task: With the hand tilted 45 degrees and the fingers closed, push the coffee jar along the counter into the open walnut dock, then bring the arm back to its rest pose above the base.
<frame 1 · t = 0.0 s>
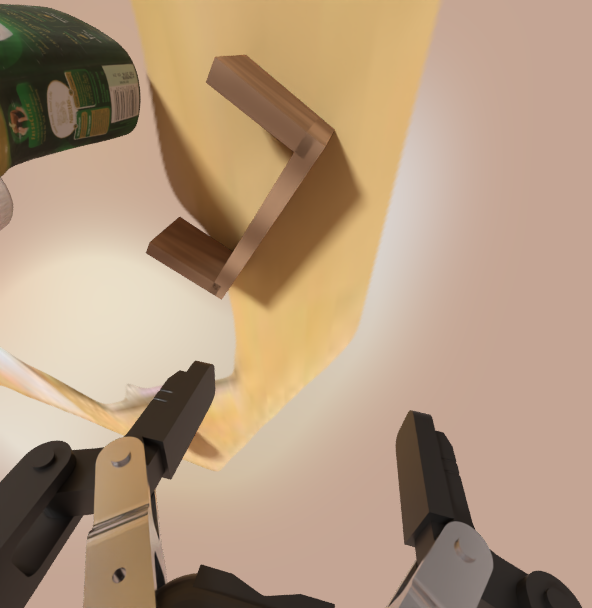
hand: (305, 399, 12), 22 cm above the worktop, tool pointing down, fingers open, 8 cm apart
coffee jar: (96, 78, 27), on the worktop
dock: (221, 170, 30), on the worktop
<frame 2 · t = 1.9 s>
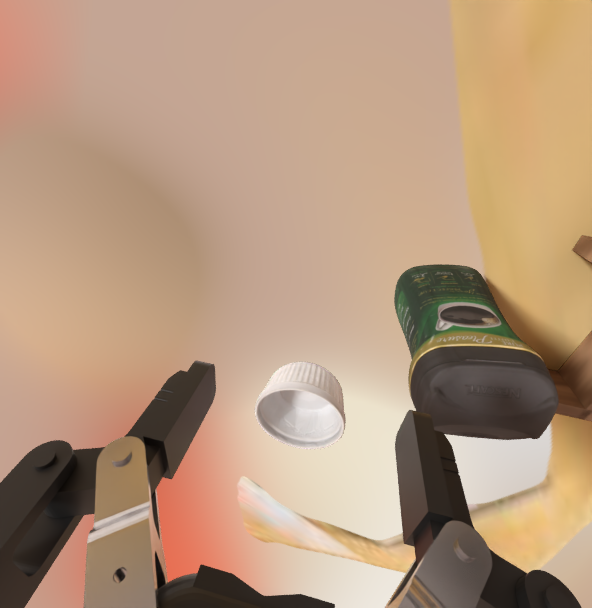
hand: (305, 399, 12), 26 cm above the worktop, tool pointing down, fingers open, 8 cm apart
coffee jar: (435, 291, 37), on the worktop
dock: (549, 314, 35), on the worktop
ramekin: (306, 384, 50), on the worktop
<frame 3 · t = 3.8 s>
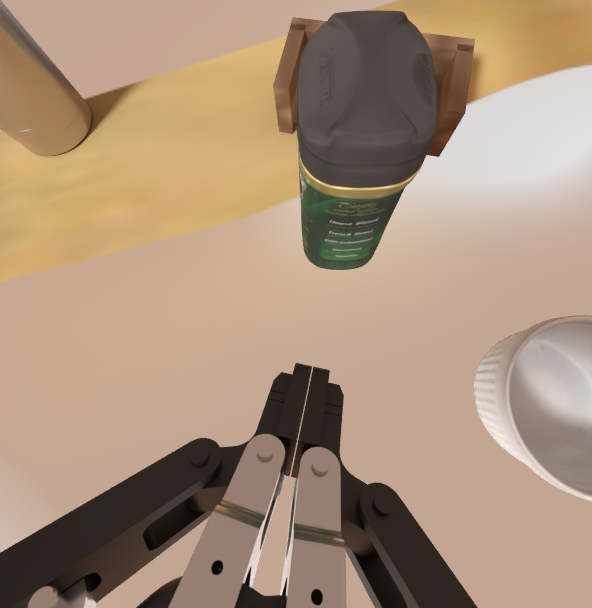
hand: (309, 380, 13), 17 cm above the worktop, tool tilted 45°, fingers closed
coffee jar: (338, 231, 33), on the worktop
dock: (360, 129, 36), on the worktop
ramekin: (530, 396, 29), on the worktop
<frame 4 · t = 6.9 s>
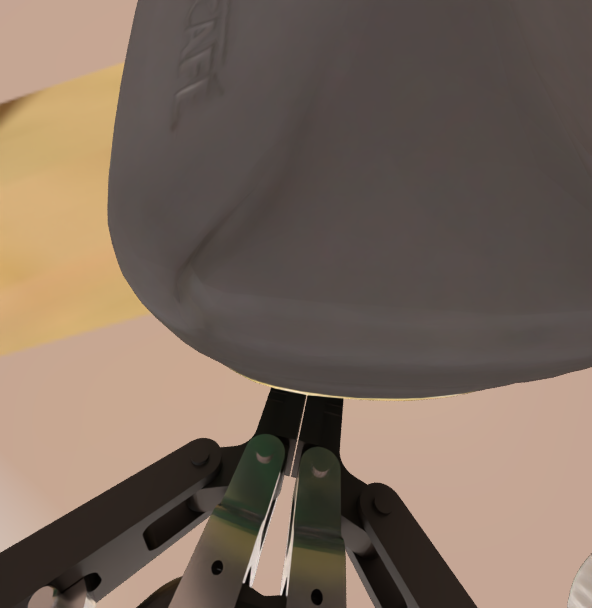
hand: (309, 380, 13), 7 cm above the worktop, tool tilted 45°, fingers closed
coffee jar: (327, 309, 21), on the worktop, touching gripper
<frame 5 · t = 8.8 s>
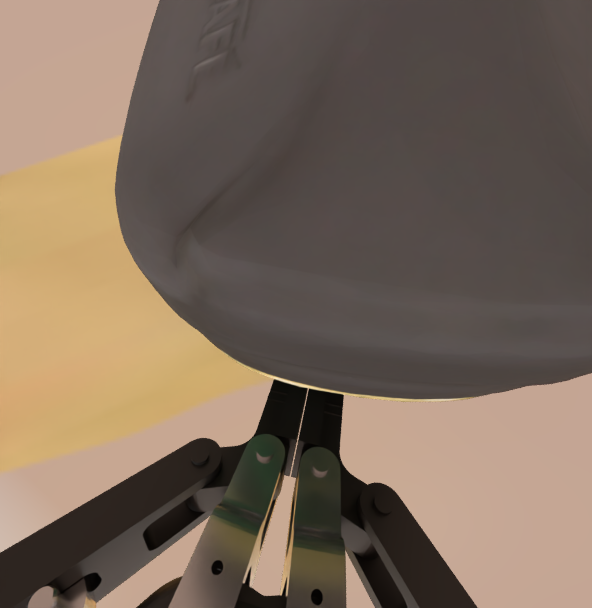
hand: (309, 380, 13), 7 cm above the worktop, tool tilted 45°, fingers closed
coffee jar: (329, 313, 21), on the worktop, touching gripper
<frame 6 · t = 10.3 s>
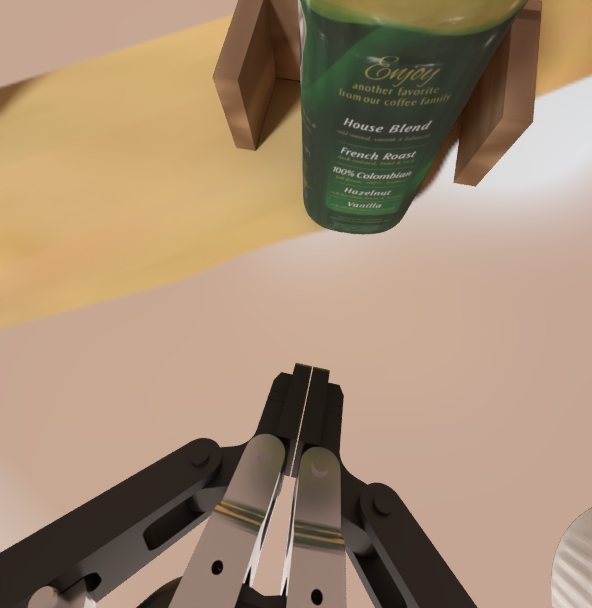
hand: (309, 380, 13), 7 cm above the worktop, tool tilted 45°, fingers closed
coffee jar: (356, 181, 23), on the worktop
dock: (356, 144, 24), on the worktop
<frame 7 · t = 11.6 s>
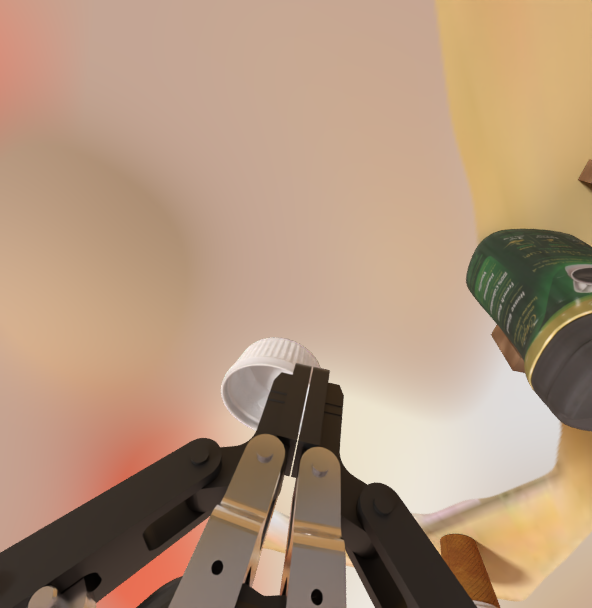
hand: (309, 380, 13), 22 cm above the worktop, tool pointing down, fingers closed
coffee jar: (516, 264, 31), on the worktop
dock: (553, 264, 30), on the worktop
ramekin: (282, 364, 44), on the worktop
disposable coffee cup: (457, 540, 59), on the worktop
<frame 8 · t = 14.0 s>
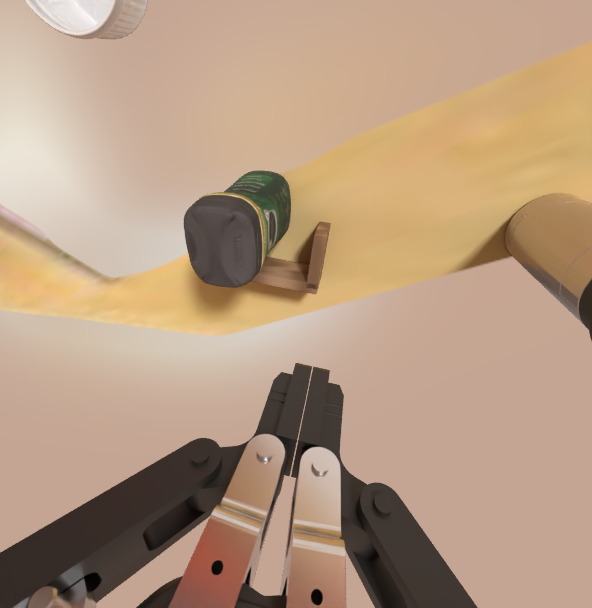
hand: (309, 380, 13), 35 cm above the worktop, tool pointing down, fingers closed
coffee jar: (266, 204, 45), on the worktop
dock: (268, 225, 47), on the worktop
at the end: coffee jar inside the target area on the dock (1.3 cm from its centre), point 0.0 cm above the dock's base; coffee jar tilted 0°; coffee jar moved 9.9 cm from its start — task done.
